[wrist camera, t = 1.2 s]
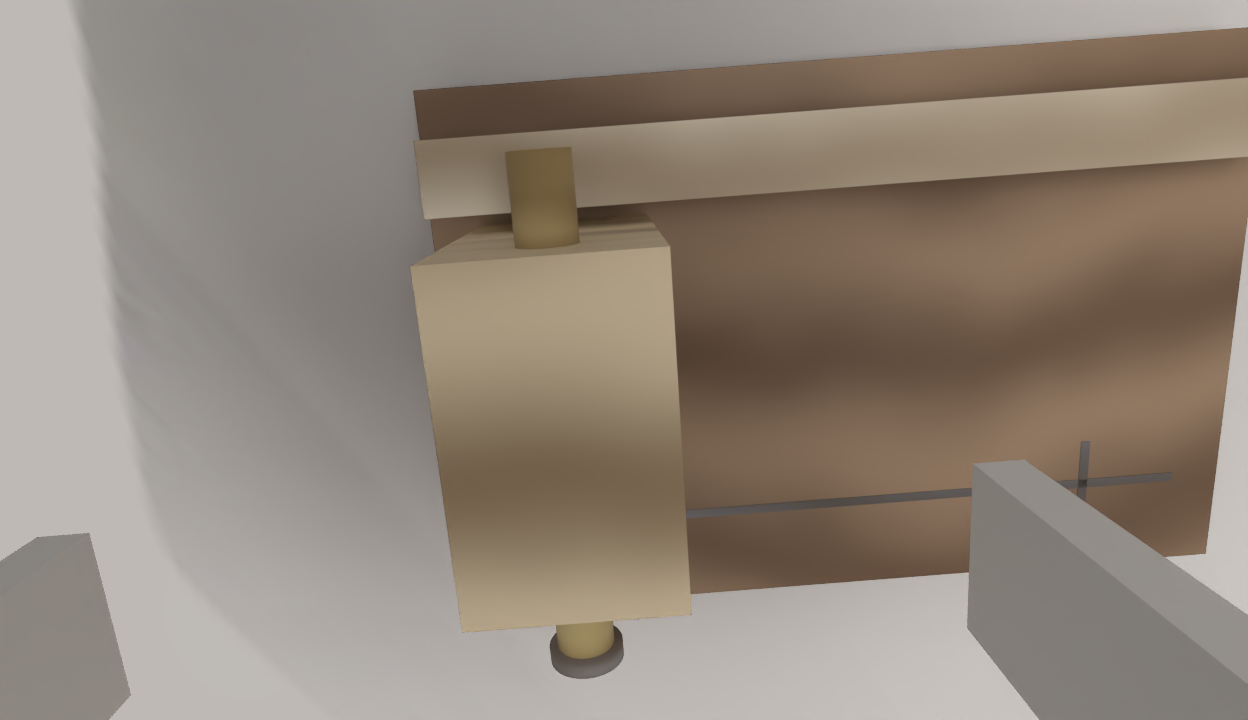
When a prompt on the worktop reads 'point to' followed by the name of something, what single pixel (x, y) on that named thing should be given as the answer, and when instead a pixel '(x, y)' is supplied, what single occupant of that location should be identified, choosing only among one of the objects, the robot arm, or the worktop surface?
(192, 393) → the worktop surface
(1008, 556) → the robot arm
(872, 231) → the walnut board
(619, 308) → the marking gauge
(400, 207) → the worktop surface
